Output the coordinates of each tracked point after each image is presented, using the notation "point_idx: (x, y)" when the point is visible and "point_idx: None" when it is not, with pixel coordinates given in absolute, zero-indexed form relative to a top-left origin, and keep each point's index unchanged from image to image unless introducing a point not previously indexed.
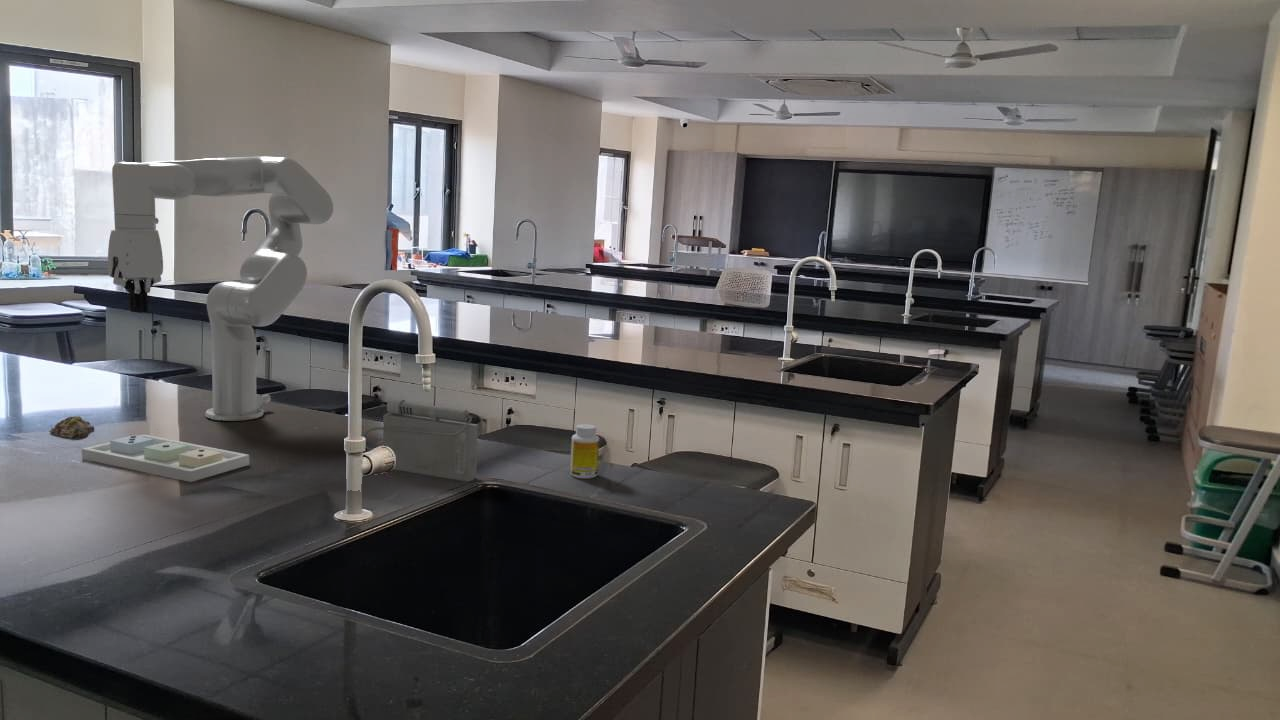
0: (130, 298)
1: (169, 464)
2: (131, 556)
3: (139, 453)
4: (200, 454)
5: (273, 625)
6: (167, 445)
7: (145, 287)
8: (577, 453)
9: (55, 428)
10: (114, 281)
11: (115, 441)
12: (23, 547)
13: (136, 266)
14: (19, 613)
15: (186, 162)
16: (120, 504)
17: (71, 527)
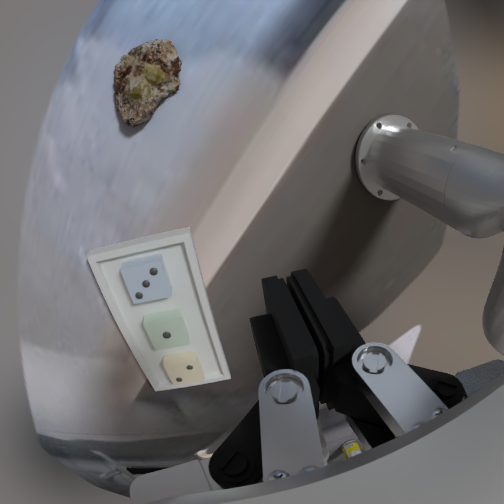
0: (262, 360)
1: (156, 350)
2: (83, 438)
3: None
4: (180, 378)
5: (117, 479)
6: (168, 336)
7: (354, 430)
8: (346, 457)
9: (119, 72)
10: (137, 500)
11: (124, 278)
12: (35, 406)
13: None
14: (41, 442)
15: None
16: (89, 391)
17: (57, 401)
